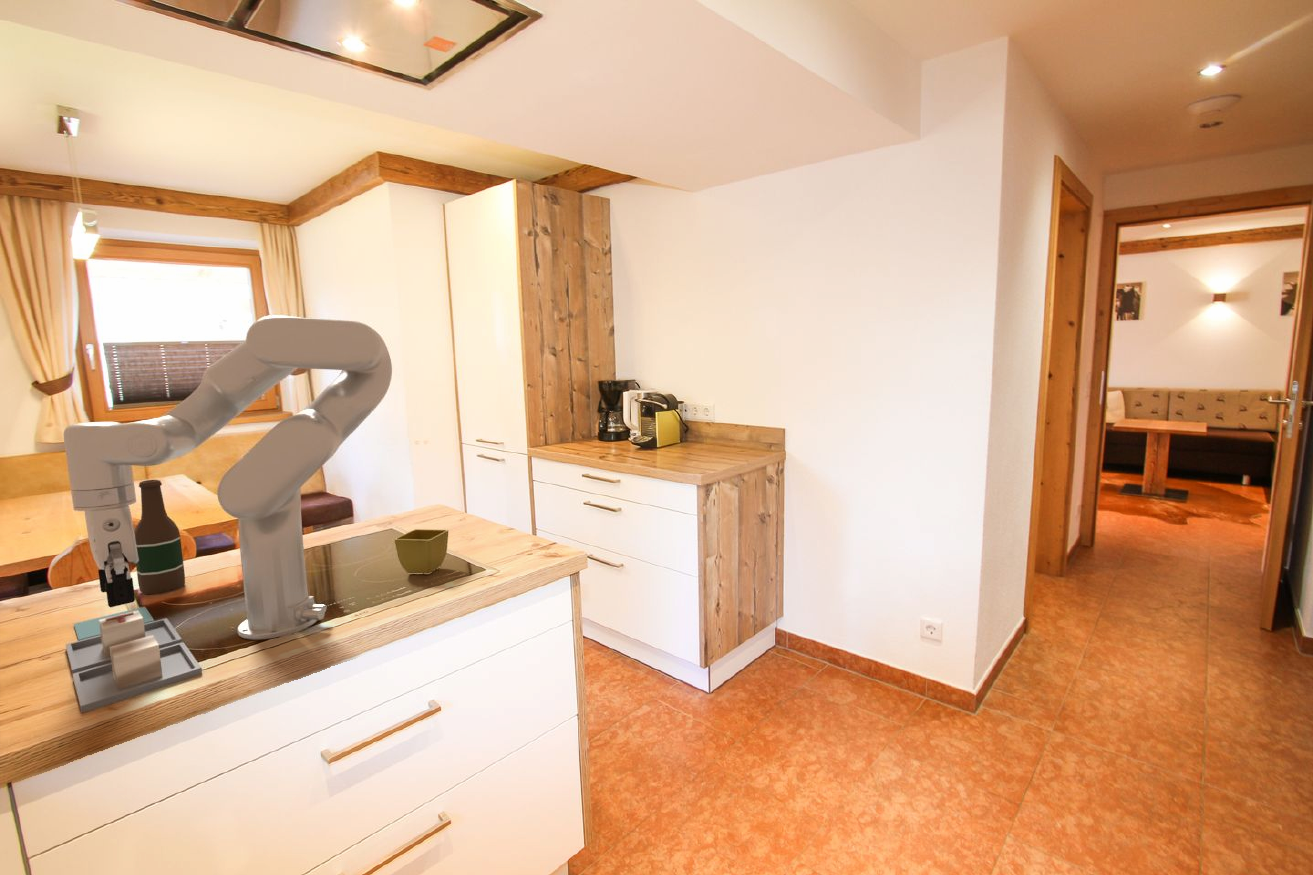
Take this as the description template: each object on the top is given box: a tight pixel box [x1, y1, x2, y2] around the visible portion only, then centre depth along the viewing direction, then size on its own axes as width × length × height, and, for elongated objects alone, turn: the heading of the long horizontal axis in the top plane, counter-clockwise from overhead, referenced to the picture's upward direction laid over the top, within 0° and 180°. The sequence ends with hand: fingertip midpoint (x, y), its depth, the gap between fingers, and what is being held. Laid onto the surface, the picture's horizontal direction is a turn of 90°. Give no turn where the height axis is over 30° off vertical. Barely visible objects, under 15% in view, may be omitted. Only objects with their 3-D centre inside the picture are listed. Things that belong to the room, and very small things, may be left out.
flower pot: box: [394, 528, 449, 574], centre depth 133 cm, size 9×9×9 cm
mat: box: [73, 606, 155, 641], centre depth 107 cm, size 10×10×1 cm
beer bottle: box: [134, 479, 186, 596], centre depth 124 cm, size 8×8×24 cm
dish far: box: [65, 617, 183, 675], centre depth 98 cm, size 13×13×1 cm
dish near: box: [72, 641, 203, 714], centre depth 88 cm, size 13×13×1 cm
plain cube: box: [110, 635, 163, 690], centre depth 88 cm, size 5×5×5 cm
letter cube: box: [99, 611, 145, 657], centre depth 97 cm, size 5×5×5 cm
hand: (117, 596), depth 97 cm, fingers open, 9 cm apart
